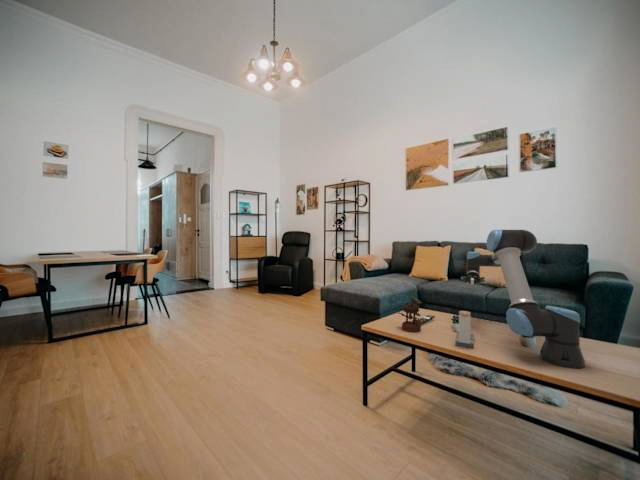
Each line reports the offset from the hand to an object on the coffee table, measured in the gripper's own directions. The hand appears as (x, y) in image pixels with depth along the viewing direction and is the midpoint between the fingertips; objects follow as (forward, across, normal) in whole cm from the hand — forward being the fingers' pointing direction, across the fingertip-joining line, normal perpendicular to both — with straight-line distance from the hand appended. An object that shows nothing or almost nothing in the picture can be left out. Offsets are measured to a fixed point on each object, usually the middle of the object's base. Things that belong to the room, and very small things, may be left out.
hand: (472, 281), depth 156 cm
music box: (+5, +32, -30) cm, 44 cm away
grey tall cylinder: (+18, +3, -28) cm, 33 cm away
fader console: (+11, +3, -30) cm, 32 cm away
